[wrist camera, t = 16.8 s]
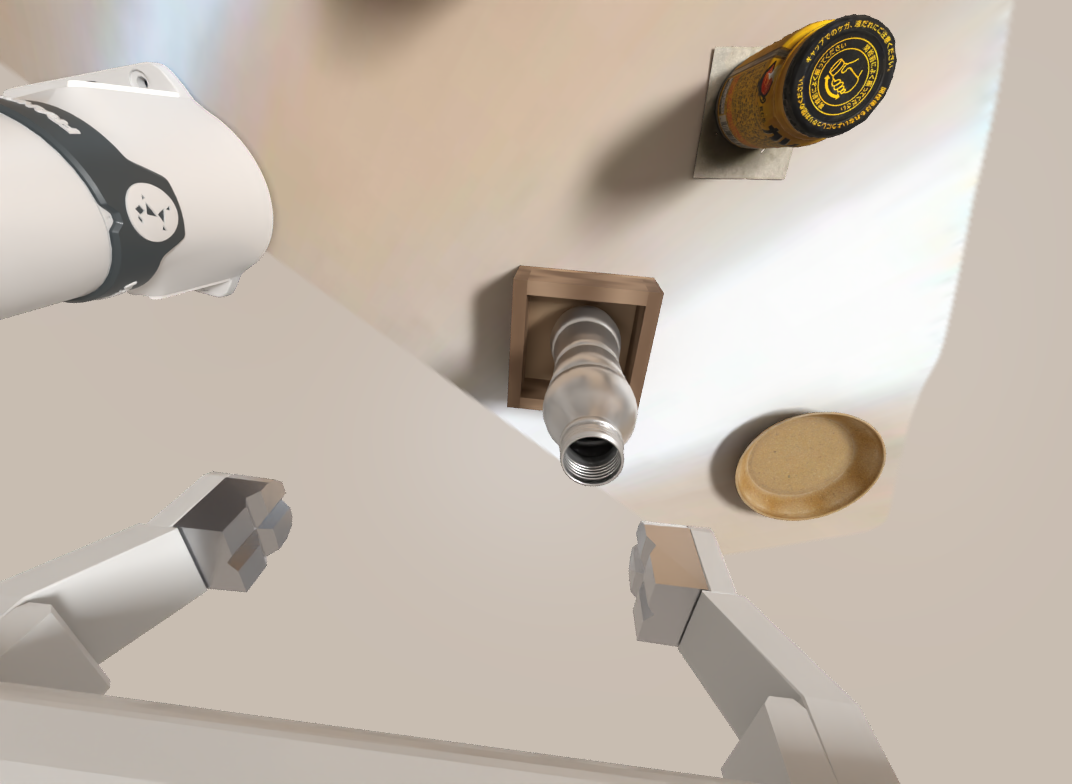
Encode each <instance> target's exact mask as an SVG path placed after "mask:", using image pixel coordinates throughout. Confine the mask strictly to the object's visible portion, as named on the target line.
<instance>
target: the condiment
mask: <svg viewBox="0 0 1072 784" xmlns="http://www.w3.org/2000/svg"><path fill="white" fill-rule="evenodd" d="M896 62H897V59H896V54H895V39H894V37H893V35H892V33H891V32H890V30H889V29H888V28H887V27H886V26H885V25H884V24H883V23H882V22H880V21H879V20H877V19H874V18H872V17H870V16H867V15H856V14H853V15H850V16H844V17H841V18H838V19H836V20H835V19H833V20H823V21H819V22H815V23H812V24H809V25H807V26H805V27H803V28H801V29H799V30H797V31H795V32H793V33H792V34H789V35H787V36H785V37H784V38H783V39H782V40H780V41H777V42H774V43H773V44H772V45H770V46H768V47H715V51H714V57H713V63H712V68H711V74H710V79H709V86H708V91H707V97H706V104H705V109H704V116H703V122H702V129H701V134H700V140H699V145H698V151H697V158H696V165H695V170H694V176H693V178H735V179H744V178H746V179H785V176H786V172H787V169H788V165H789V160H790V157H791V154H792V150H793V147H801V146H807V145H811V144H815V143H817V142H820V141H822V140H824V139H826V138H830V137H834V136H837V135H840V134H843V133H844V132H847V131H849V130H850V129H852V128H854V127H855V126H857V125H858V124H860V123H862V122H863V121H865V120H866V119H867V118H868V116H869V115H870V114H871V113H872V112H873V110H874V109H875V108H876V107H877V105H878V104H879V103H880V102H881V100H882V99H883V98H884V96H885V94H886V92H887V90H888V88H889V85H890V83H891V80H892V78H893V73H894V70H895V66H896ZM716 133H717V135H716ZM762 149H765V150H764V151H763V152H762V153H761V150H762Z"/></svg>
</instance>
